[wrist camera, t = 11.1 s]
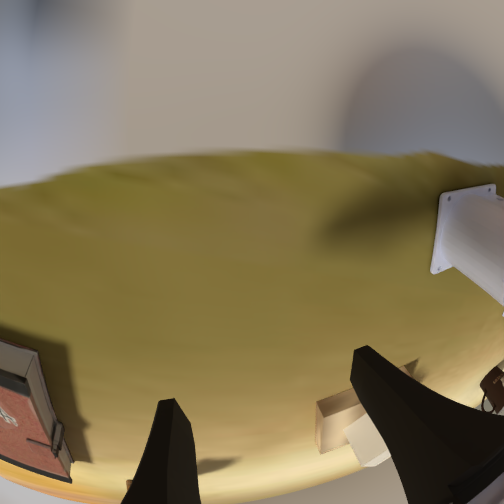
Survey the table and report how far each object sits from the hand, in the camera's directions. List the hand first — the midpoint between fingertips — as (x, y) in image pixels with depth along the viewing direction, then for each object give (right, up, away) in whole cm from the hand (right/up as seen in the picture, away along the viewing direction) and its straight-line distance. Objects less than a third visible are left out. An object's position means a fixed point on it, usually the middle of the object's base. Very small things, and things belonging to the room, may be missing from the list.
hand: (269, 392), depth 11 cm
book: (-31, -13, +12) cm, 36 cm away
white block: (+14, -16, +21) cm, 30 cm away
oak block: (+13, -15, +23) cm, 31 cm away
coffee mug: (+55, -24, +38) cm, 71 cm away
